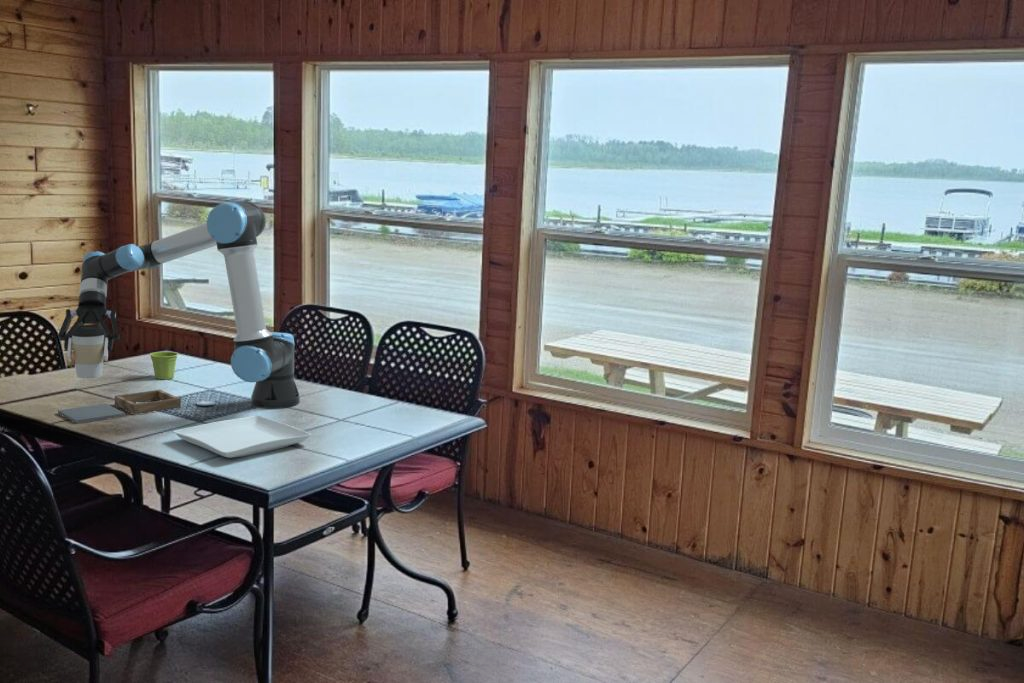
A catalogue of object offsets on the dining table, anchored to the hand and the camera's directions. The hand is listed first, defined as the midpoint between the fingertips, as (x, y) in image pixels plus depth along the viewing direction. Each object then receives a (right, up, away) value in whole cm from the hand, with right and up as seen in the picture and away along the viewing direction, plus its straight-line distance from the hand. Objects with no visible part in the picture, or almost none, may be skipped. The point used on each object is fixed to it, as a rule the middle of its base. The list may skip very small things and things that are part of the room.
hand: (87, 358), depth 264 cm
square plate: (+49, -24, -14) cm, 56 cm away
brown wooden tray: (+10, -15, +18) cm, 26 cm away
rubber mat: (-2, -17, +6) cm, 18 cm away
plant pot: (+1, -8, +56) cm, 57 cm away
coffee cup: (-1, -5, +4) cm, 7 cm away
